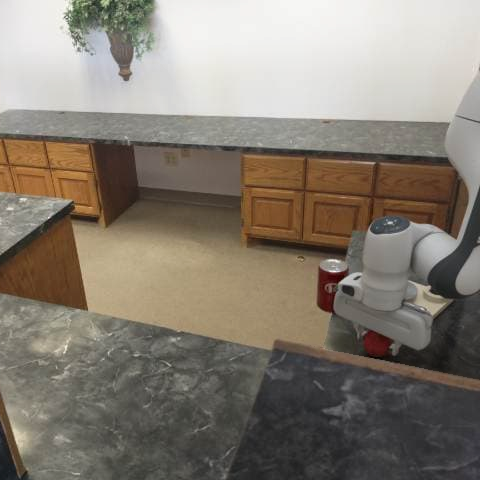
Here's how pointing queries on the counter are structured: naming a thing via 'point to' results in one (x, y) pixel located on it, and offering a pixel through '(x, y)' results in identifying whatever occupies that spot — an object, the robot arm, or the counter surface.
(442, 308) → the scale
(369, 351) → the onion
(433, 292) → the button
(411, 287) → the plate
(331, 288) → the soda can
